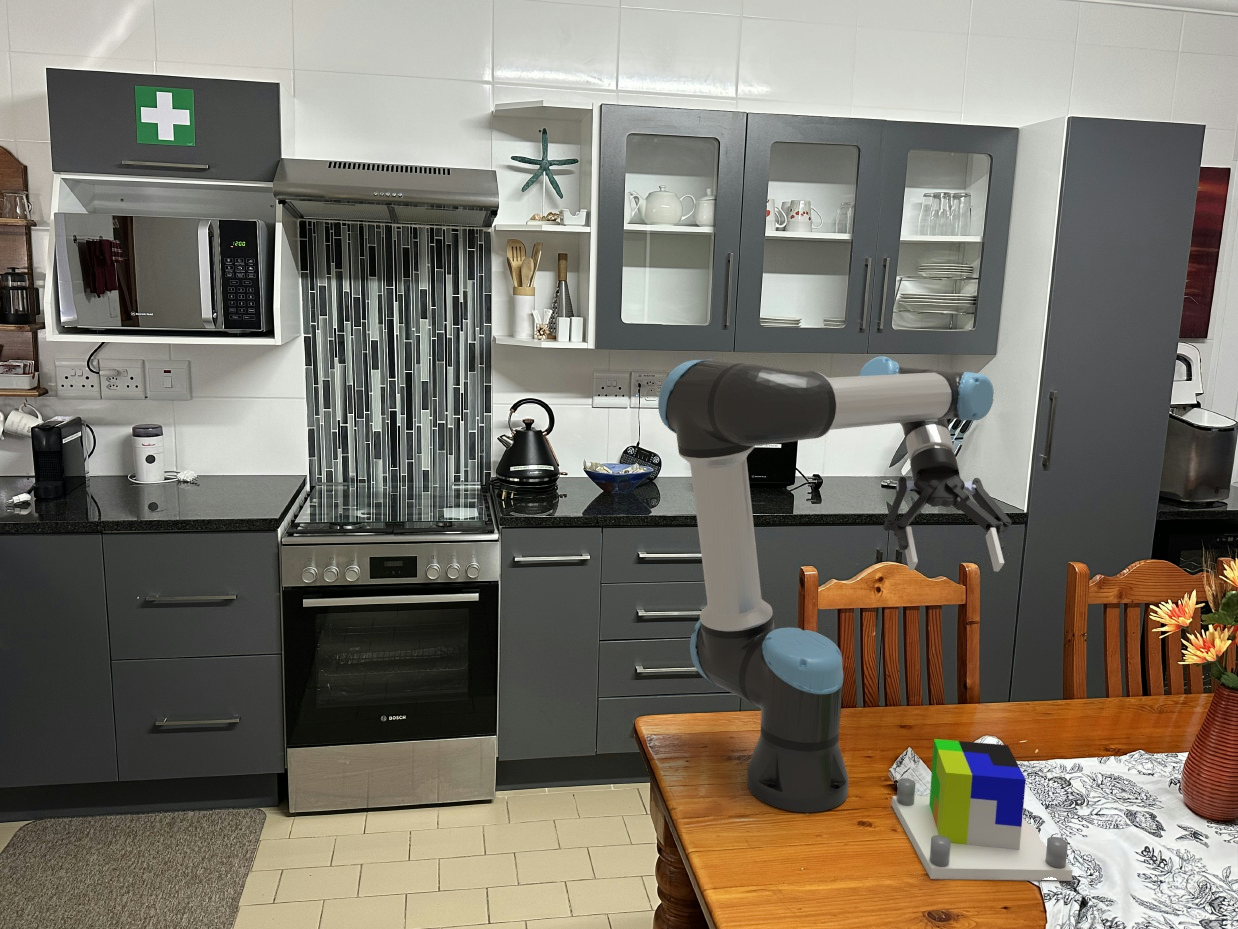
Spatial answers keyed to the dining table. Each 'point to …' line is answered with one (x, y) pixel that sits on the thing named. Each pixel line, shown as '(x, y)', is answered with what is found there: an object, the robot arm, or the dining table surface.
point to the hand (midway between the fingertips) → (956, 567)
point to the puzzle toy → (977, 793)
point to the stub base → (976, 847)
